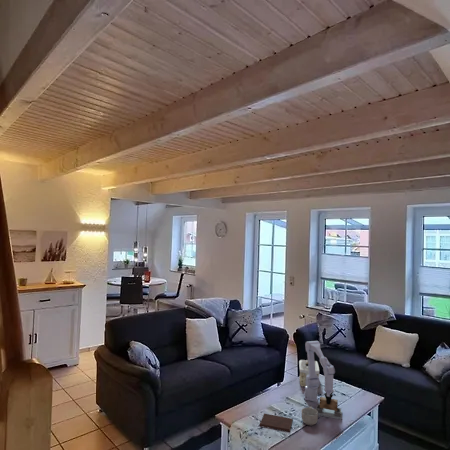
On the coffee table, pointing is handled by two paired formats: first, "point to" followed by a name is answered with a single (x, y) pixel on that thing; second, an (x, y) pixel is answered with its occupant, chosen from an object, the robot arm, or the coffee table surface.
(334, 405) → the tan wooden block
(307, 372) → the storage basket
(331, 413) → the board
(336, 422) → the coffee table surface
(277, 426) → the notebook
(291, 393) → the coffee table surface
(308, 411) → the teacup
